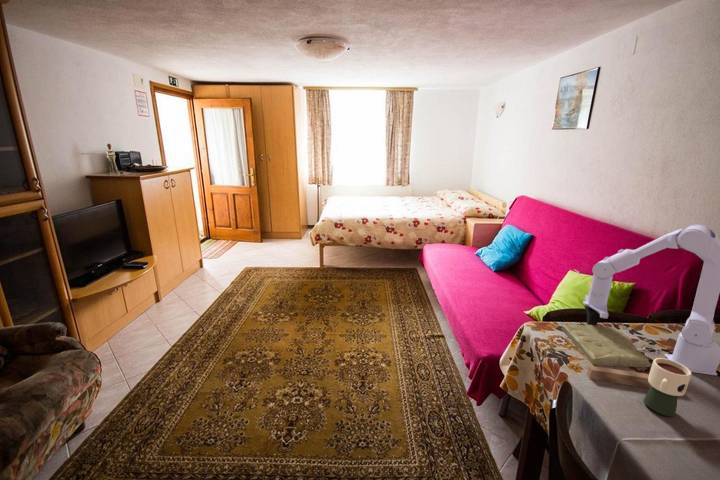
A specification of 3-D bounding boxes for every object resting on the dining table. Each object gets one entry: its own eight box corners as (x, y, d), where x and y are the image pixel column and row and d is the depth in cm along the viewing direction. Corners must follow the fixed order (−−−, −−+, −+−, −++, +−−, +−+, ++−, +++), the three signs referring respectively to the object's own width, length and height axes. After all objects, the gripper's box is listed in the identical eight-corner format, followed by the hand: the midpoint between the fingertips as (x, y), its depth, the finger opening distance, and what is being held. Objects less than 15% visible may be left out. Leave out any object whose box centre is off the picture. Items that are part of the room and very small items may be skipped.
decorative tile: (591, 365, 103) (593, 356, 102) (560, 330, 122) (562, 322, 121) (655, 370, 101) (658, 360, 100) (614, 333, 120) (616, 325, 119)
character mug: (671, 427, 80) (687, 383, 76) (635, 409, 85) (648, 367, 81) (681, 406, 86) (696, 365, 82) (646, 391, 91) (659, 351, 88)
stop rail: (674, 387, 93) (677, 378, 92) (679, 392, 91) (682, 383, 90) (586, 374, 98) (588, 365, 97) (589, 378, 96) (591, 369, 95)
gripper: (579, 283, 125) (572, 314, 129) (594, 300, 112) (586, 335, 116) (600, 285, 123) (592, 317, 127) (618, 302, 110) (609, 337, 114)
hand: (591, 325), depth 121 cm, fingers closed
